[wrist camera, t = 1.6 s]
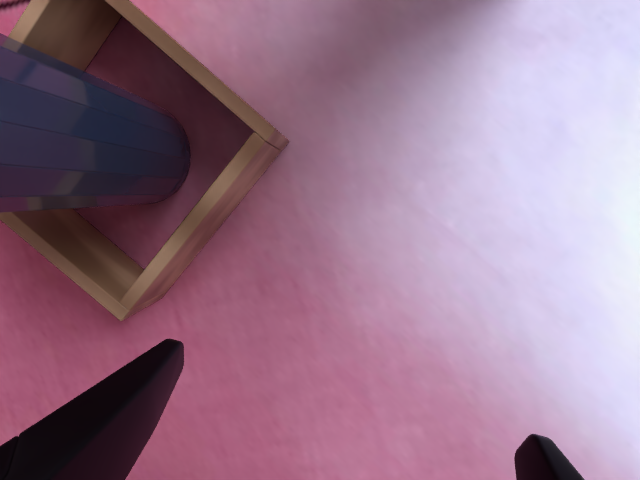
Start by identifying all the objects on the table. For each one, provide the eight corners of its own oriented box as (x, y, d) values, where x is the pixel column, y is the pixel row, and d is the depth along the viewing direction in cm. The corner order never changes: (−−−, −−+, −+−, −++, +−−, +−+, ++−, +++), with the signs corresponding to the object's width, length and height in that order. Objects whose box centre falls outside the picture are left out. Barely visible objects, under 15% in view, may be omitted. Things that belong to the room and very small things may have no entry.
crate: (161, 298, 25) (121, 322, 20) (5, 165, 24) (-72, 160, 20) (290, 141, 23) (275, 128, 18) (121, -7, 22) (65, -56, 18)
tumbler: (151, 223, 24) (-72, 260, 11) (77, 159, 24) (-238, 122, 11) (210, 148, 23) (40, 94, 10) (133, 80, 23) (-139, -60, 10)
